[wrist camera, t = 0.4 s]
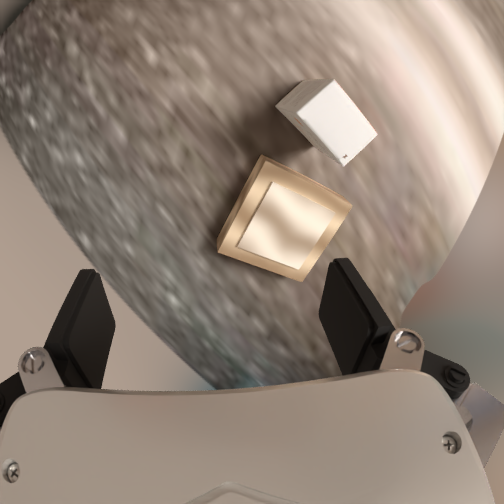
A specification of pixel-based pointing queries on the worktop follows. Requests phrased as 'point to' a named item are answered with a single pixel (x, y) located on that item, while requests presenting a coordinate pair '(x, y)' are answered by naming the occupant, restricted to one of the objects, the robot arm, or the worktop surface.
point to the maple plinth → (281, 220)
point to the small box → (327, 118)
